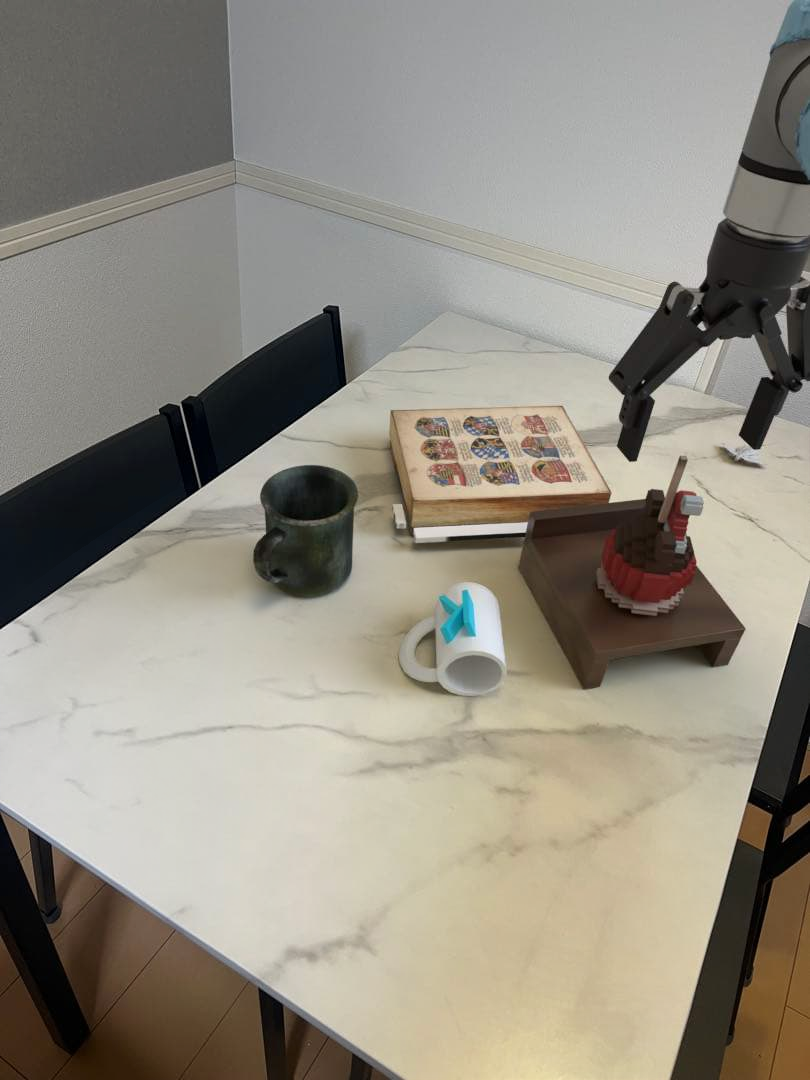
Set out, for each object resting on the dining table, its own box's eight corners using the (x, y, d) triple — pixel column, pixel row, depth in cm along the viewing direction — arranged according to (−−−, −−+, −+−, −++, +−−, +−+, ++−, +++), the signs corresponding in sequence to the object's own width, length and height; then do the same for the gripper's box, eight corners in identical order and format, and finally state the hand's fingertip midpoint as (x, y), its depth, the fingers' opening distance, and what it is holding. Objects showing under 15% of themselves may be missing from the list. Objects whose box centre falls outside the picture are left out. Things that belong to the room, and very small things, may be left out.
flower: (730, 442, 129) (737, 427, 128) (777, 464, 125) (784, 449, 124) (710, 452, 124) (717, 436, 123) (757, 475, 120) (765, 459, 119)
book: (399, 555, 102) (608, 544, 106) (401, 516, 97) (619, 506, 102) (376, 447, 120) (554, 441, 124) (377, 410, 116) (562, 405, 120)
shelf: (728, 664, 91) (756, 609, 85) (583, 689, 86) (602, 632, 81) (645, 550, 105) (664, 496, 99) (517, 567, 101) (530, 511, 95)
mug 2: (482, 550, 87) (490, 631, 78) (504, 606, 93) (514, 688, 84) (382, 576, 90) (378, 657, 81) (409, 629, 96) (408, 710, 86)
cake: (592, 553, 95) (630, 424, 83) (671, 563, 94) (720, 434, 83) (600, 617, 86) (643, 483, 75) (686, 628, 86) (743, 495, 75)
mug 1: (373, 564, 99) (377, 487, 92) (297, 633, 90) (295, 553, 82) (305, 529, 104) (304, 453, 96) (226, 591, 94) (217, 511, 86)
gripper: (864, 209, 70) (775, 418, 84) (607, 213, 64) (556, 437, 78) (926, 240, 65) (821, 458, 78) (651, 247, 59) (589, 482, 72)
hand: (689, 448), depth 78 cm, fingers open, 13 cm apart
